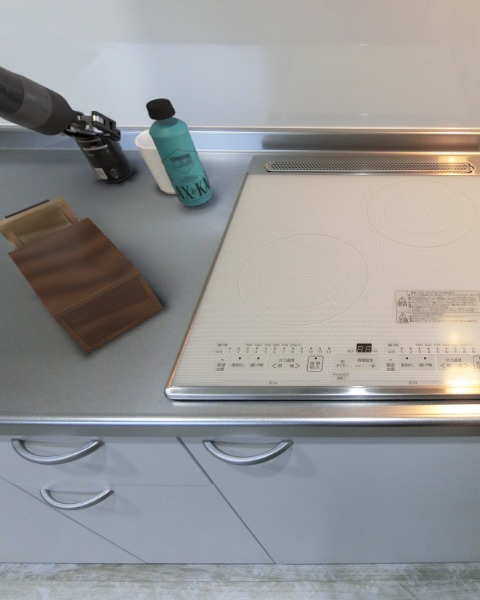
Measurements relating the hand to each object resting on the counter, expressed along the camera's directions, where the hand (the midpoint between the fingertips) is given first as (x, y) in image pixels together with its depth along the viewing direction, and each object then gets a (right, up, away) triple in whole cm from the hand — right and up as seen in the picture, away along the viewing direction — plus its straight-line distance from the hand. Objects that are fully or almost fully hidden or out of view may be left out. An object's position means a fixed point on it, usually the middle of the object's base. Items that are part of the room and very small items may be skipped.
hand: (100, 135), depth 87 cm
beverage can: (0, -7, +5) cm, 9 cm away
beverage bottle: (+20, -14, -1) cm, 24 cm away
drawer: (+2, -25, -12) cm, 28 cm away
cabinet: (+13, -33, -18) cm, 39 cm away
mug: (+13, -8, +4) cm, 16 cm away
